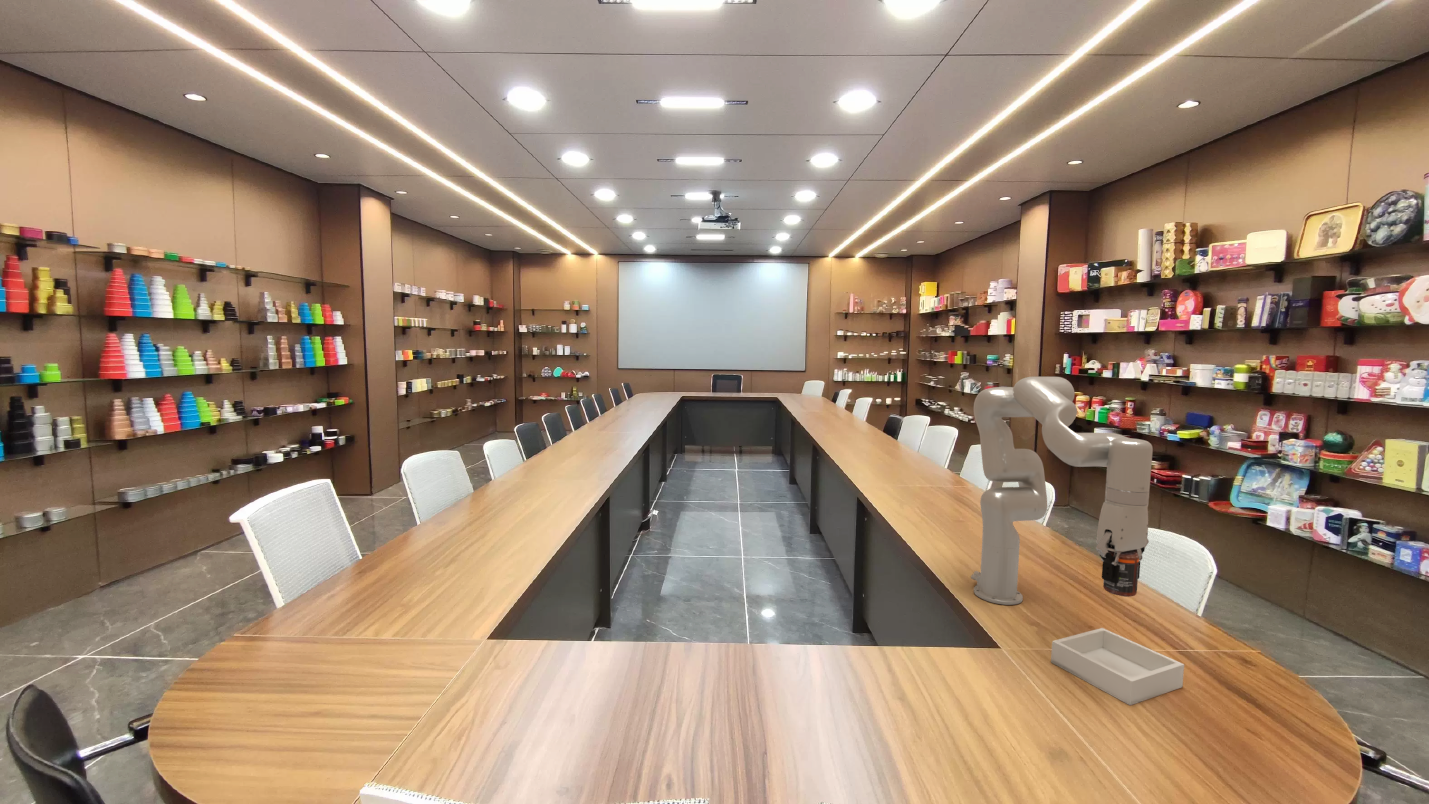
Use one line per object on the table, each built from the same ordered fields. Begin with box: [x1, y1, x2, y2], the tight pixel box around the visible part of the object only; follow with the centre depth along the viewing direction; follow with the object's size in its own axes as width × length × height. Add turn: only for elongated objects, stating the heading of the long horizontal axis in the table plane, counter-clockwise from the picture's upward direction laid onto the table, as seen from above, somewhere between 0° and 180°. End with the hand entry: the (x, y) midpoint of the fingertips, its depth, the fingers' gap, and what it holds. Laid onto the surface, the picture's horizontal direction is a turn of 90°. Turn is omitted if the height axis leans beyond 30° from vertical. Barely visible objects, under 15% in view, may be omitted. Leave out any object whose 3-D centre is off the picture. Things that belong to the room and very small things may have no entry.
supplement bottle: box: [1102, 546, 1139, 598], centre depth 122 cm, size 6×6×11 cm
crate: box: [1050, 627, 1185, 706], centre depth 124 cm, size 17×17×5 cm
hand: (1120, 578), depth 123 cm, fingers closed on supplement bottle, 6 cm apart
